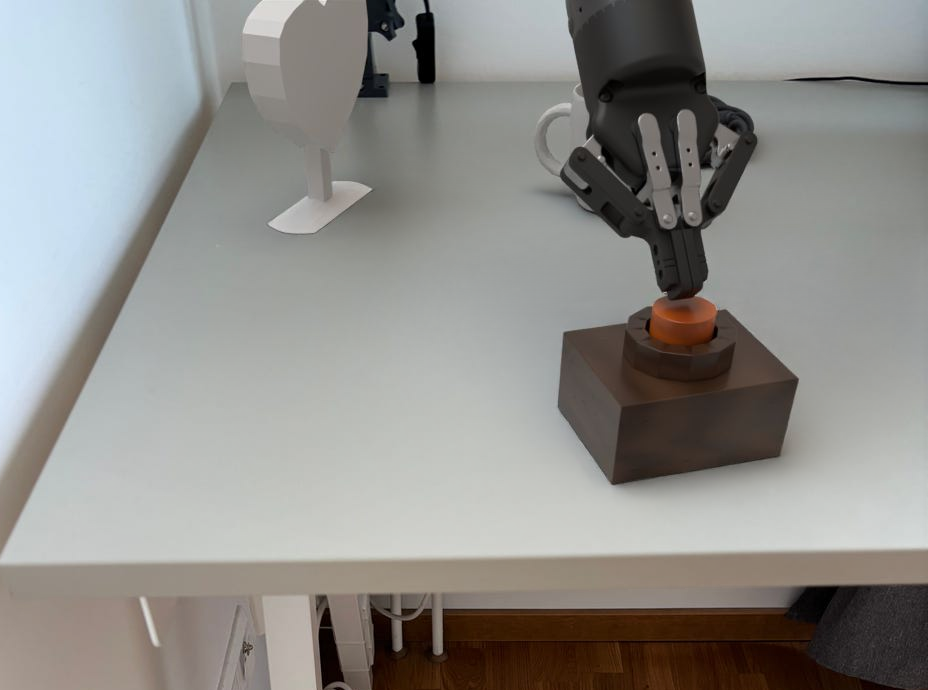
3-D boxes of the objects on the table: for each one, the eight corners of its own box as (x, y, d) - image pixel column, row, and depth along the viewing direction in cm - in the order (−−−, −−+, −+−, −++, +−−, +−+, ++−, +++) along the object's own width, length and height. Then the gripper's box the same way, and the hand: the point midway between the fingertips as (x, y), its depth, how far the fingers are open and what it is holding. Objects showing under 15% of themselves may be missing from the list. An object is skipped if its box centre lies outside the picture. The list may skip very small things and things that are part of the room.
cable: (641, 107, 125) (645, 66, 122) (764, 122, 121) (772, 79, 118) (602, 157, 113) (606, 112, 110) (737, 174, 109) (746, 128, 106)
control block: (712, 382, 79) (730, 283, 74) (780, 456, 72) (806, 352, 67) (557, 406, 76) (564, 305, 71) (611, 485, 69) (624, 379, 64)
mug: (671, 195, 105) (686, 83, 98) (643, 228, 99) (657, 111, 92) (548, 174, 109) (555, 65, 102) (514, 205, 103) (519, 92, 96)
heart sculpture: (336, 174, 109) (323, -33, 97) (381, 182, 107) (373, -27, 95) (255, 231, 98) (228, 7, 86) (303, 241, 97) (283, 14, 85)
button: (695, 316, 71) (699, 290, 70) (723, 344, 68) (728, 318, 67) (638, 323, 70) (642, 298, 69) (665, 352, 67) (668, 326, 66)
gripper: (549, -8, 63) (608, 285, 62) (756, -22, 65) (813, 259, 65) (515, 66, 70) (568, 329, 70) (702, 51, 73) (754, 304, 72)
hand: (686, 294), depth 67 cm, fingers closed
